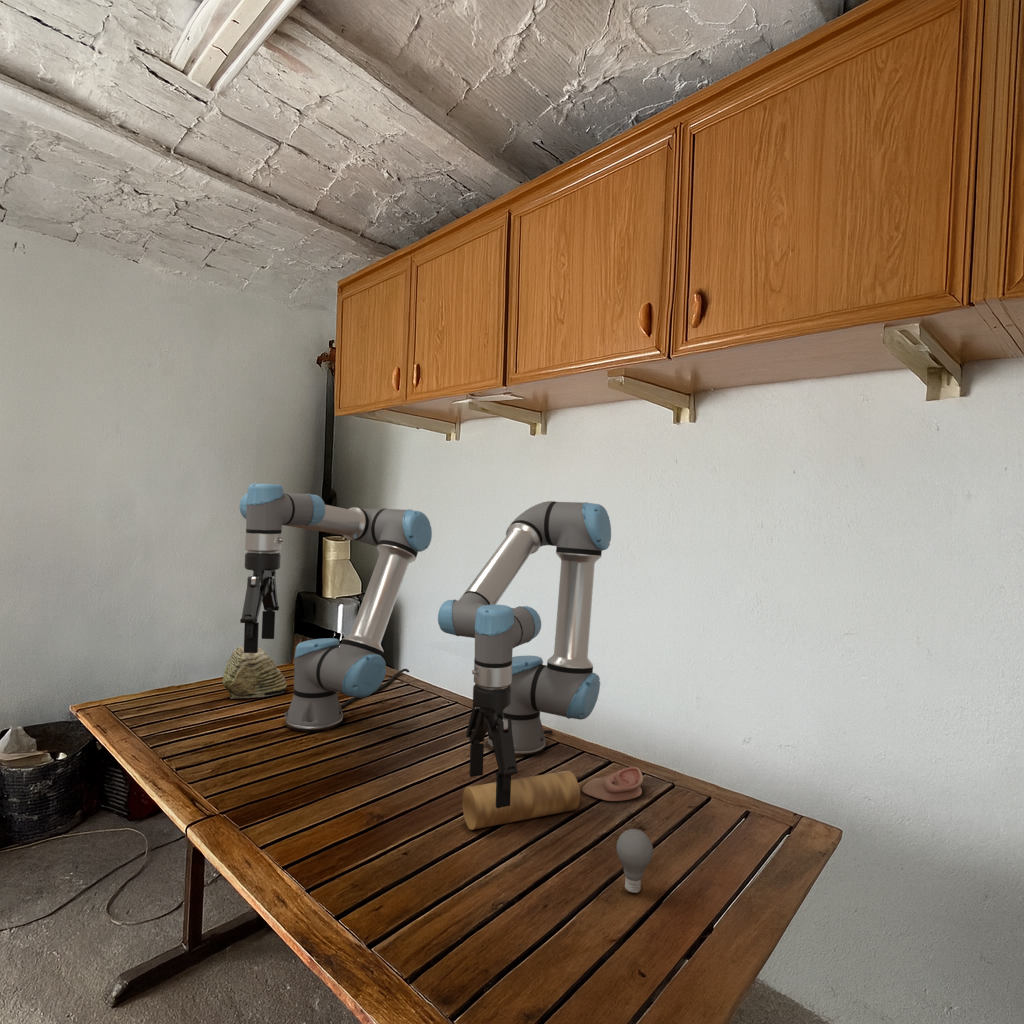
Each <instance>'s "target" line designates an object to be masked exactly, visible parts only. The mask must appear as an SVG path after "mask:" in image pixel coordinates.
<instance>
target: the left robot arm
mask: <svg viewBox="0 0 1024 1024" xmlns="http://www.w3.org/2000/svg"><path fill="white" fill-rule="evenodd" d="M239 513H240V515H241V516H242V518H244V519H245V522H246V523H245V539H244V540H245V543H244V550H245V551H247V552H245V553H244V569H245V570H248V571H252V572H253V573H252V575H251V576H250V575H249V576H247V581H246V582H247V583H246V591H245V597H244V601H243V608H242V613H241V618H240V619H239V622H240V624H244V628H243V629H244V631H243V632H244V633H243V647H244V653H257V652H258V648H259V629H260V628H259V625H260V623H259V622H258V621H259V620H258V619H259V615H260V611H261V607H262V606H263V610H262V615H261V616H262V617H261V640H274V639H275V627H276V624H275V623H276V611H280V605H279V601H278V590H277V581H276V574H277V570H279V569H280V568H281V557H282V556H281V555H282V554H281V553H280V552H279V551H280V550H281V549H282V543H283V542H284V541H285V539H284V537H282V533H283V530H282V529H283V526H285V527H291V528H298V529H302V530H310V531H316V532H322V533H328V534H334V535H340V536H343V537H344V538H345V539H347V540H349V541H354V542H355V541H356V542H358V543H363V544H366V545H369V546H370V545H371V546H374V547H376V549H377V551H378V553H379V555H378V556H379V557H378V559H377V561H376V564H375V566H374V569H373V572H372V575H371V577H370V580H369V582H368V585H367V588H366V590H365V593H364V596H363V599H362V601H361V604H360V606H359V607H360V608H359V610H358V612H357V615H356V618H355V621H354V624H353V625H352V628H351V630H350V634H348V635H347V636H344V637H343V638H342V639H341V642H340V641H339V639H338V638H335V637H333V638H332V637H329V638H315V639H314V638H313V639H308V640H304V641H302V642H299V643H298V644H297V645H296V646H295V652H294V653H295V654H294V657H293V659H294V660H293V662H294V663H293V665H294V667H293V695H292V696H293V697H292V699H291V702H290V704H289V708H288V710H287V711H285V712H284V714H283V715H284V716H283V718H285V726H286V728H287V729H289V730H291V731H294V732H295V731H296V732H301V733H316V732H325V731H329V730H332V729H335V728H337V727H339V726H340V725H342V723H343V722H344V714H343V709H342V708H344V707H346V706H347V705H349V704H350V703H352V702H353V701H357V700H358V699H361V698H367V697H370V696H371V695H372V694H374V693H376V692H379V691H380V690H382V689H384V688H386V687H387V686H388V685H389V684H391V682H392V681H394V680H395V679H396V678H397V677H398V676H399V675H401V674H402V673H404V672H405V673H410V670H409V669H408V668H403V669H401V670H399V671H397V672H396V673H394V674H393V675H392V676H391V677H390V678H389V679H388V680H387V681H386V682H385V683H383V682H384V680H385V678H386V673H387V667H386V666H387V663H386V661H385V659H384V657H383V655H384V651H385V650H384V649H383V647H382V641H383V638H384V635H385V633H386V630H387V628H388V627H387V626H388V624H389V621H390V618H391V615H392V612H393V610H394V606H395V604H396V602H397V598H398V595H399V593H400V589H401V586H402V583H403V581H404V577H405V575H406V572H407V569H408V567H409V564H411V563H413V562H416V561H417V560H416V559H417V557H418V554H419V552H420V553H421V552H424V551H425V550H427V549H428V548H429V546H430V545H431V543H432V537H433V530H432V526H431V522H430V519H429V518H428V516H427V515H426V514H425V513H424V512H423V511H420V510H413V509H410V508H409V509H401V508H400V509H398V508H384V507H383V508H382V507H381V508H361V507H355V506H353V507H350V508H344V507H339V506H334V505H330V504H326V503H325V501H324V500H323V498H322V497H321V496H319V495H318V494H311V493H293V492H292V493H289V492H287V493H286V492H284V487H283V485H281V484H274V483H254V482H253V483H251V484H249V485H248V488H247V493H245V494H244V495H243V496H242V497H241V499H240V502H239ZM338 694H342V695H345V696H347V697H351V698H350V699H348V700H347V701H345V702H344V703H342V704H341V702H340V699H339V695H338Z"/></svg>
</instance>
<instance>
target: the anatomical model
mask: <svg viewBox="0 0 1024 1024" xmlns="http://www.w3.org/2000/svg"><path fill="white" fill-rule="evenodd" d="M643 782H644V775H643V773H642V771H641V770H640V769H639V768H638V767H637V766H630V767H625V768H623V769H620V770H617V771H615V772H613V773H610V774H608V775H605V776H604V777H596V778H595V777H594V778H592V779H590V780H588V781H587V782H586V783H585V784H584V785H583V786H582V788H581V792H582V793H583V794H585V795H587V796H590V797H593V798H595V799H598V800H602V801H606V802H619V801H621V802H622V801H628V800H633V799H635V798H638V797H640V796H641V795H642V793H643V789H642V787H641V786H642V784H643Z"/></svg>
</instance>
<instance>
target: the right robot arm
mask: <svg viewBox="0 0 1024 1024" xmlns="http://www.w3.org/2000/svg"><path fill="white" fill-rule="evenodd" d="M611 540H612V525H611V519H610V516H609V514H608V511H607V508H605V506H603V505H602V504H599V503H592V502H588V501H587V502H578V501H555V500H548V501H542V502H540V503H537V504H535V505H533V506H531V507H528V509H526V510H524V511H523V512H521V513H520V514H519V515H518V516H516V518H514V520H513V521H511V523H510V524H509V526H507V528H506V531H505V538H504V539H503V540H502V541H501V543H500V544H499V546H498V547H497V549H496V550H495V551H494V553H492V555H491V556H490V557H489V559H488V561H487V562H486V563H485V564H484V566H483V567H482V568H481V570H480V571H479V572H478V574H477V575H476V576H475V578H474V579H473V581H472V582H471V583H470V585H469V586H468V587H467V589H466V590H465V592H464V593H463V594H462V595H461V597H460V598H459V599H448V600H445V601H443V603H442V604H441V605H440V607H439V610H438V613H437V623H438V626H439V629H440V630H441V631H442V632H443V633H445V634H448V635H452V636H456V637H464V638H471V639H474V658H473V659H474V660H473V669H472V670H471V674H472V675H473V683H474V684H473V687H472V709H471V713H470V716H469V719H468V720H469V721H468V724H467V728H466V733H465V736H466V738H468V741H469V744H470V747H469V748H470V749H469V750H470V751H469V774H468V775H469V777H470V778H474V777H481V776H484V755H485V753H484V752H485V751H484V750H485V749H484V748H485V744H484V743H485V742H486V740H485V736H486V735H487V747H488V748H489V749H490V750H491V751H492V752H494V757H495V760H496V761H495V762H496V764H497V770H498V771H497V772H495V775H496V777H495V778H496V779H495V782H496V808H501V807H506V806H510V796H511V780H512V775H516V774H518V772H519V771H518V764H517V758H516V757H521V758H522V757H531V756H536V755H538V754H541V753H542V752H544V751H545V749H546V746H547V745H546V743H547V742H546V741H547V740H546V735H552V734H553V730H552V729H546V730H544V728H543V724H542V721H541V713H546V714H549V715H554V716H559V717H562V718H563V717H564V718H566V719H568V720H570V719H574V720H581V721H582V720H585V719H587V718H588V717H589V716H590V715H591V714H592V712H593V710H594V709H595V706H596V705H597V702H598V698H599V695H600V690H601V681H600V680H601V678H600V676H599V674H597V673H596V672H594V664H593V662H592V661H591V660H590V659H589V646H590V632H591V631H590V630H591V621H592V620H591V619H592V607H593V593H594V581H595V580H594V579H595V568H596V567H595V566H596V563H597V561H599V560H600V559H601V558H602V553H603V551H606V550H608V549H609V548H610V545H611ZM544 546H552V547H556V549H555V554H556V556H557V557H558V558H559V559H560V570H559V572H560V573H559V582H558V584H559V585H558V597H557V608H556V609H557V610H556V623H555V635H554V647H553V653H552V655H551V656H550V657H549V658H548V659H547V660H546V664H544V661H543V658H542V657H541V656H538V655H516V656H515V655H514V656H513V652H514V651H513V649H515V648H517V647H519V646H522V645H524V644H528V643H530V642H531V641H532V640H533V639H535V638H537V636H538V635H539V634H540V632H541V629H542V619H541V616H540V614H539V613H538V611H537V610H536V609H535V608H533V607H531V606H528V605H524V606H523V605H522V606H521V605H519V606H515V607H511V606H509V605H505V604H498V602H499V601H500V600H501V598H502V597H503V595H504V593H505V592H506V591H507V590H508V588H509V587H510V585H511V584H512V582H513V581H514V579H515V578H516V576H517V575H518V573H519V572H520V570H521V569H522V567H523V566H524V564H525V563H526V561H528V559H529V557H530V555H533V554H535V553H536V552H538V551H539V549H540V548H541V547H544Z"/></svg>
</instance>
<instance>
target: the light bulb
mask: <svg viewBox="0 0 1024 1024" xmlns="http://www.w3.org/2000/svg"><path fill="white" fill-rule="evenodd" d="M615 849H616V854H617V857H618V859H619V861H620V863H621V865H622V867H623V873H624V874H623V875H624V876H625V878H624V888H625V890H627V891H628V892H630V893H634V894H635V893H639V892H640V891H641V889H642V887H641V886H642V879H643V877H644V875H645V871H646V868H647V867H648V866H649V864H650V863H651V861H652V859H653V855H654V847H653V843H652V841H651V838H649V836H648V835H647V834H646V833H645V832H643V831H642V830H641V829H636V828H629V829H627V830H625V831H623V832H622V833H621V834H620V835H619V837H618V839H617V841H616V847H615Z"/></svg>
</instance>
